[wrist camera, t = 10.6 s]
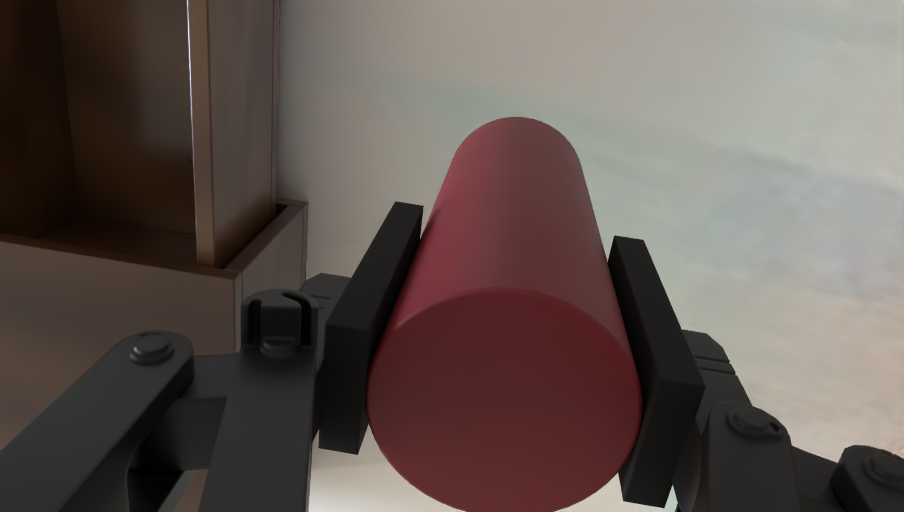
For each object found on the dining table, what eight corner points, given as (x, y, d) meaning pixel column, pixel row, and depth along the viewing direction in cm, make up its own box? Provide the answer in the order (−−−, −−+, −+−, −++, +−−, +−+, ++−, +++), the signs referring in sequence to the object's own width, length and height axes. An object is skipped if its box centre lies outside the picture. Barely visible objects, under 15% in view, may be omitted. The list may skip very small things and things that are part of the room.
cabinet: (62, 163, 35) (-90, 227, 27) (308, 202, 35) (234, 280, 26) (96, 435, 43) (-14, 554, 34) (298, 471, 42) (238, 602, 34)
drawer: (5, -293, 27) (-186, -389, 19) (303, -257, 26) (218, -342, 19) (68, 219, 36) (-46, 280, 29) (290, 254, 35) (230, 327, 28)
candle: (584, 114, 23) (653, 289, 10) (580, 244, 25) (634, 525, 12) (445, 118, 24) (349, 288, 11) (451, 245, 26) (377, 513, 13)
